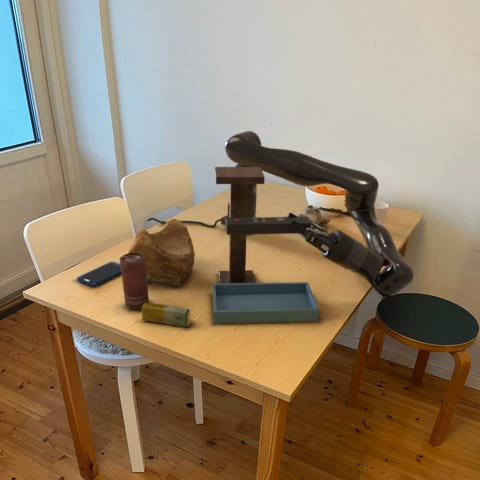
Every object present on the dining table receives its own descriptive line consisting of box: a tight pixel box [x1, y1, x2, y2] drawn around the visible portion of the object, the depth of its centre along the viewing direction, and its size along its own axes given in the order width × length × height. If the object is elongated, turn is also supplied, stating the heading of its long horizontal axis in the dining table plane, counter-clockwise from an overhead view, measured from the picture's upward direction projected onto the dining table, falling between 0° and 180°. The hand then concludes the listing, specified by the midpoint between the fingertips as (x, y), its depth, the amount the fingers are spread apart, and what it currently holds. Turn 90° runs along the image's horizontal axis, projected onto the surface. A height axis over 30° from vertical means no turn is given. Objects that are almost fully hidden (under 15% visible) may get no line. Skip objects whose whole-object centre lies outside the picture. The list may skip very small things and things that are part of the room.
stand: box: [214, 166, 266, 284], centre depth 130 cm, size 12×10×32 cm
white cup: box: [374, 200, 390, 227], centre depth 171 cm, size 8×8×10 cm
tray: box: [211, 281, 320, 325], centre depth 127 cm, size 27×15×4 cm, turn 95°
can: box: [119, 252, 150, 311], centre depth 124 cm, size 6×6×14 cm
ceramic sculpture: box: [296, 204, 332, 227], centre depth 173 cm, size 11×9×15 cm
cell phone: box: [76, 261, 122, 288], centre depth 141 cm, size 7×14×1 cm, turn 146°
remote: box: [225, 216, 311, 236], centre depth 115 cm, size 20×4×3 cm, turn 95°
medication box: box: [141, 302, 191, 328], centre depth 120 cm, size 12×3×4 cm, turn 78°
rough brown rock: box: [127, 218, 196, 287], centre depth 137 cm, size 23×17×15 cm
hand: (289, 219), depth 115 cm, fingers closed on remote, 4 cm apart
